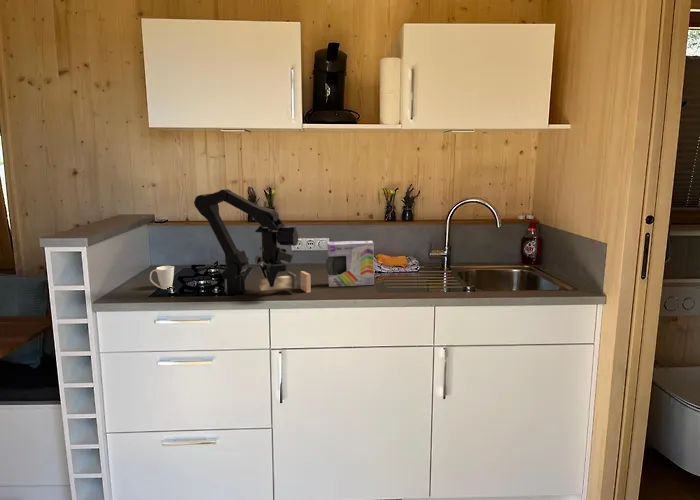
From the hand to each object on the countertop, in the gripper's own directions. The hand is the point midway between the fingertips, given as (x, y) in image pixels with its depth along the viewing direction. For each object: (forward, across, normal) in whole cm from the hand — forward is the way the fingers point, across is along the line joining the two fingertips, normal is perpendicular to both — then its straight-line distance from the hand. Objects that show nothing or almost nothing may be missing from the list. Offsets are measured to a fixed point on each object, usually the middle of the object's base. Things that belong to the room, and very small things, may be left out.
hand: (270, 285), depth 186 cm
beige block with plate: (+1, 0, -2) cm, 3 cm away
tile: (+4, 0, -14) cm, 14 cm away
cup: (+4, +29, +34) cm, 45 cm away
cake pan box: (+4, 0, -33) cm, 33 cm away
